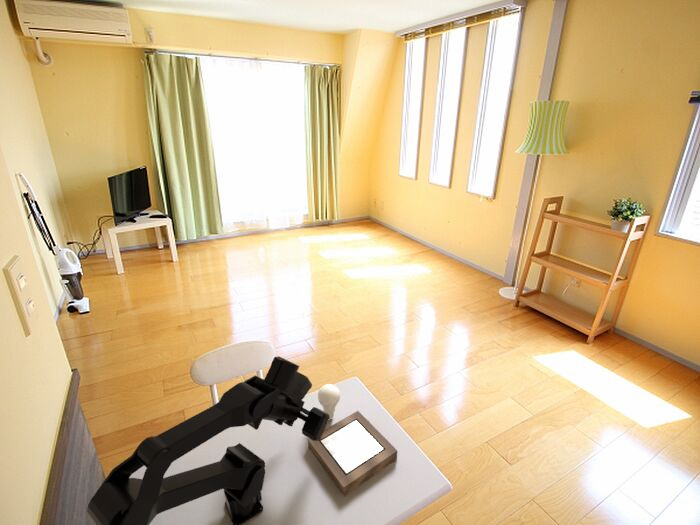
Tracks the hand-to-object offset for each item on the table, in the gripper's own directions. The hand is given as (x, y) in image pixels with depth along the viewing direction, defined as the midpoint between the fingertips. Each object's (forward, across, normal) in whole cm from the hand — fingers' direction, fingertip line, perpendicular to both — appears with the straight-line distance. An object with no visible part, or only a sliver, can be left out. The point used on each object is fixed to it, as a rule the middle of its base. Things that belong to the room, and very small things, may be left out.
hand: (310, 413), depth 94 cm
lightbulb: (+11, 0, 0) cm, 11 cm away
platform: (+6, -12, +4) cm, 14 cm away
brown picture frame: (+7, -12, +4) cm, 14 cm away
